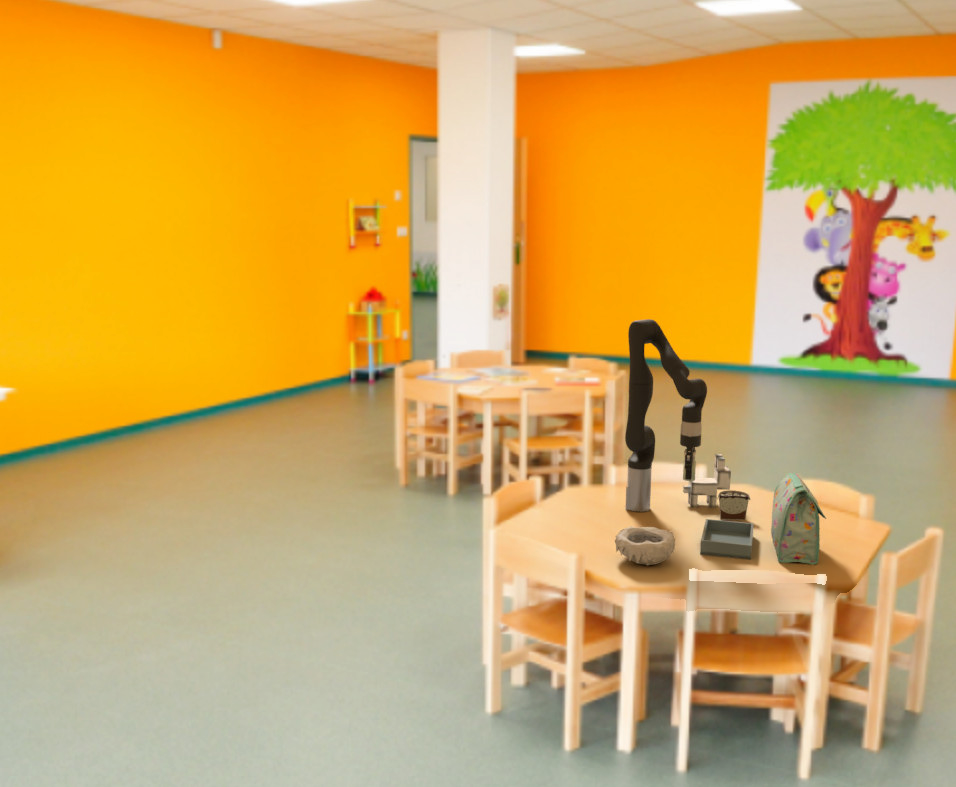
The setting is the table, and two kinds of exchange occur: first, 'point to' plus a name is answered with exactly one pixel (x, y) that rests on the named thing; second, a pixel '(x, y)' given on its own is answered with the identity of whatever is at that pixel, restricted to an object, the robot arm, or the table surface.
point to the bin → (727, 539)
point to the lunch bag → (795, 522)
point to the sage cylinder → (692, 471)
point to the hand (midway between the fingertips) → (688, 477)
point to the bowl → (645, 544)
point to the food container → (733, 505)
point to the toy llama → (709, 484)
